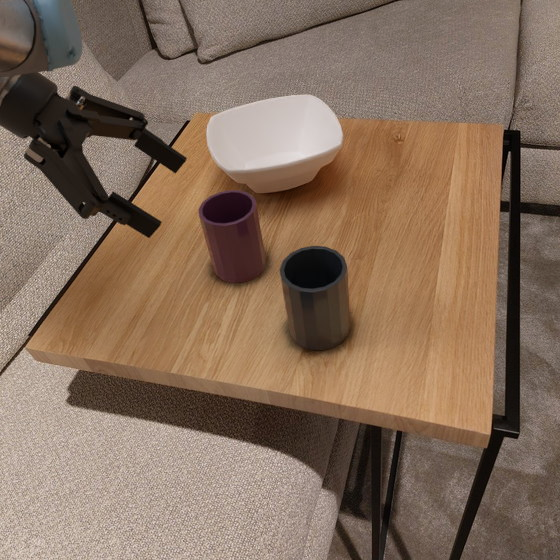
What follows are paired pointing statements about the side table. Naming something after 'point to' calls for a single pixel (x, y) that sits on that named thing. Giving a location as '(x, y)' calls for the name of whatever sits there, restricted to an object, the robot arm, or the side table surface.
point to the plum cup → (233, 235)
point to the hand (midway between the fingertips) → (169, 196)
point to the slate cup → (316, 297)
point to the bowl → (275, 141)
